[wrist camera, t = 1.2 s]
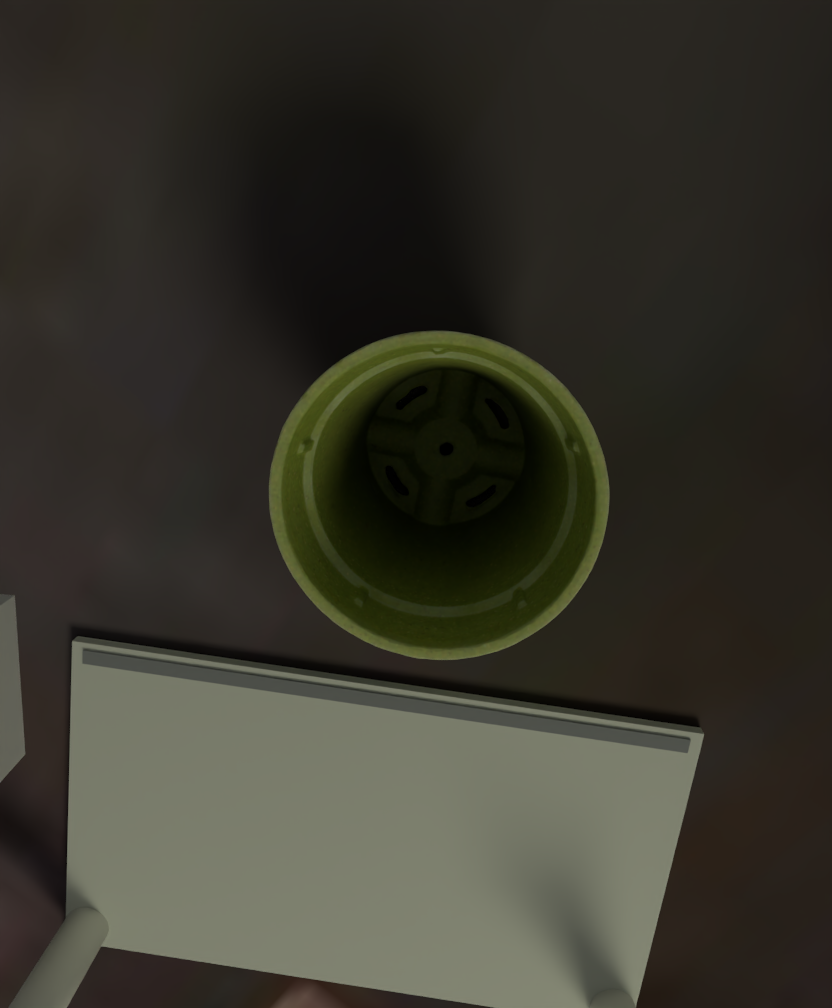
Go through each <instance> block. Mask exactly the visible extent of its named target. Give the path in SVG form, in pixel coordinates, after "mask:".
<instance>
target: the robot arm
mask: <svg viewBox="0 0 832 1008" xmlns="http://www.w3.org/2000/svg"><path fill="white" fill-rule="evenodd" d="M24 755H25V745H24V730H23V714H22V699H21V684H20V669H19V654H18V639H17V624H16V609H15V595H2V594H0V782H1V781H2V780H3V779H4V778H5V776H6V775H7V774H8V773H9V772H10V771H11V770H12V768H13V767H14V766H15V765H16V764H17V763H18V762H19V760H20V759H21V758H22V757H23V756H24Z"/></svg>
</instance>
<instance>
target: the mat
mask: <svg viewBox="0 0 832 1008" xmlns="http://www.w3.org/2000/svg"><path fill="white" fill-rule="evenodd" d="M703 737H704V733H703V731H702V729H701V728H699V727H692V726H686V725H679V724H672V723H665V722H659V721H652V720H645V719H638V718H631V717H625V716H618V715H611V714H604V713H597V712H591V711H584V710H577V709H570V708H563V707H557V706H550V705H543V704H536V703H529V702H523V701H516V700H509V699H502V698H496V697H489V696H482V695H475V694H468V693H462V692H455V691H448V690H441V689H434V688H428V687H421V686H414V685H407V684H400V683H394V682H387V681H380V680H373V679H366V678H360V677H353V676H346V675H339V674H333V673H326V672H319V671H312V670H305V669H299V668H292V667H285V666H278V665H271V664H265V663H258V662H251V661H244V660H237V659H231V658H224V657H217V656H210V655H203V654H197V653H190V652H183V651H176V650H170V649H163V648H156V647H149V646H142V645H136V644H129V643H122V642H115V641H108V640H102V639H95V638H88V637H81V636H77V637H76V638H75V639H74V640H73V641H72V671H71V714H70V758H69V801H68V844H67V887H66V919H65V920H64V922H63V924H62V925H61V927H60V928H59V930H58V931H57V933H56V934H55V936H54V938H53V939H52V941H51V942H50V944H49V945H48V947H47V948H46V950H45V952H44V953H43V955H42V956H41V958H40V959H39V961H38V962H37V964H36V966H35V967H34V969H33V970H32V972H31V973H30V975H29V976H28V978H27V980H26V981H25V983H24V984H23V986H22V987H21V989H20V991H19V992H18V994H17V995H16V997H15V998H14V1000H13V1001H12V1003H11V1005H10V1006H9V1008H67V1006H68V1004H69V1003H70V1001H71V999H72V997H73V995H74V994H75V992H76V990H77V988H78V987H79V985H80V983H81V981H82V979H83V978H84V976H85V974H86V972H87V970H88V969H89V967H90V965H91V963H92V962H93V960H94V958H95V956H96V954H97V953H98V951H99V949H100V947H101V946H104V947H110V948H117V949H123V950H130V951H136V952H142V953H149V954H155V955H162V956H168V957H174V958H181V959H187V960H194V961H200V962H207V963H213V964H219V965H226V966H232V967H239V968H245V969H251V970H258V971H264V972H271V973H277V974H283V975H290V976H296V977H303V978H309V979H316V980H322V981H328V982H335V983H341V984H348V985H354V986H360V987H367V988H373V989H380V990H386V991H392V992H399V993H405V994H412V995H418V996H425V997H431V998H437V999H444V1000H450V1001H457V1002H463V1003H469V1004H476V1005H482V1006H489V1007H495V1008H636V1004H637V1000H638V996H639V992H640V988H641V984H642V980H643V976H644V972H645V968H646V964H647V960H648V956H649V952H650V948H651V944H652V940H653V936H654V932H655V928H656V924H657V920H658V916H659V912H660V908H661V904H662V900H663V896H664V892H665V888H666V884H667V880H668V876H669V872H670V868H671V864H672V860H673V856H674V852H675V848H676V844H677V840H678V836H679V832H680V828H681V824H682V820H683V816H684V812H685V808H686V804H687V800H688V797H689V793H690V789H691V785H692V781H693V777H694V773H695V769H696V765H697V761H698V757H699V753H700V749H701V745H702V741H703Z"/></svg>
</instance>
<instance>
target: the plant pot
mask: <svg viewBox="0 0 832 1008" xmlns="http://www.w3.org/2000/svg"><path fill="white" fill-rule="evenodd" d="M419 386H424V387H426V388H427V392H426V393H425V394H423V395H420V396H419V397H417V398H415V399H413V400H412V401H411V402H410V403H408V404H407V405H406V406H405V407H404V408H403V409H402V410H398V409H396V408H397V406H396V404H397V402H398V401H399V400H401V399H402V398H403V397H405V396H406V395H407V394H408V393H409V391H410V390H411V389H414V388H416V387H419ZM486 398H487V399H491V400H493V401H494V402H495V403H496V404H498V405H499V406H500V407H501V408H502V410H503V411H504V412H505V415H506V416H507V418H508V423H509V426H508V428H506V429H505V430H504V429H502V428H501V426H500V424H499V422H498V420H497V418H496V416H495V414H494V413H493V412H492V410H491V409H490V408H489V405H488V404H486V402H485V399H486ZM444 443H450V444H451V445H452V446H453V451H452V453H451V454H450V455H446V456H443V455H442V454H441V453H440V446H441V445H443V444H444ZM386 466H392V467H393V469H394V471H395V473H396V475H397V477H398V478H399V480H400V481H401V483H402V484H403V485H404V486H405V487H407V489H408V490H409V495H407V496H405V495H402V494H400V493H398V492H397V491H396V490H395V489H394V487H393V485H392V484H391V482H390V481H389V480H388V477H387V475H386V471H385V470H386ZM492 485H495V486H496V488H495V491H496V492H495V493H494V494H493V495H492V496H491V497H490V498H488V499H487V500H486V501H484V502H483V503H482V504H480V505H478V506H475V507H468V506H467V505H466V502H467V501H469V500H470V499H472V498H474V497H476V496H478V495H480V494H482V493H483V492H484V491H486V490H487V489H488V488H489V487H491V486H492ZM269 507H270V517H271V521H272V527H273V531H274V534H275V538H276V541H277V544H278V547H279V550H280V552H281V554H282V556H283V559H284V561H285V563H286V565H287V567H288V569H289V571H290V572H291V574H292V576H293V577H294V578H295V580H296V581H297V583H298V584H299V586H300V587H301V589H302V590H303V591H304V592H305V594H306V595H307V596H308V597H309V598H310V599H311V601H312V602H313V603H314V604H315V605H316V606H317V607H318V608H319V609H320V610H321V611H322V612H323V613H324V614H325V615H326V616H328V617H329V618H330V619H331V620H332V621H333V622H334V623H336V624H337V625H339V626H340V627H342V628H343V629H345V630H346V631H348V632H349V633H351V634H353V635H355V636H356V637H358V638H360V639H362V640H364V641H365V642H367V643H370V644H372V645H374V646H376V647H379V648H382V649H385V650H388V651H391V652H395V653H399V654H402V655H405V656H410V657H413V658H420V659H434V660H456V659H463V658H470V657H476V656H481V655H485V654H489V653H493V652H496V651H499V650H501V649H504V648H507V647H509V646H512V645H514V644H516V643H518V642H519V641H521V640H523V639H525V638H527V637H528V636H530V635H532V634H533V633H535V632H536V631H538V630H539V629H541V628H542V627H544V626H545V625H546V624H548V623H549V622H550V621H551V620H553V619H554V618H555V617H556V616H557V615H558V614H559V613H560V612H561V611H562V610H563V609H564V608H565V607H566V606H567V605H568V604H569V602H570V601H571V600H572V599H573V598H574V596H575V595H576V594H577V592H578V591H579V590H580V588H581V587H582V585H583V584H584V582H585V580H586V579H587V577H588V575H589V573H590V572H591V570H592V568H593V566H594V563H595V561H596V559H597V557H598V554H599V550H600V548H601V545H602V542H603V538H604V533H605V529H606V524H607V518H608V511H609V481H608V474H607V468H606V463H605V459H604V455H603V452H602V449H601V446H600V443H599V441H598V438H597V436H596V434H595V431H594V428H593V426H592V424H591V423H590V421H589V419H588V417H587V415H586V414H585V412H584V411H583V409H582V407H581V406H580V405H579V403H578V402H577V400H576V399H575V398H574V397H573V395H572V394H571V393H570V392H569V390H568V389H567V388H566V387H565V386H564V385H563V384H562V383H561V382H560V381H559V380H558V379H557V378H556V377H555V376H554V375H552V374H551V373H550V372H549V371H548V370H546V369H545V368H544V367H542V366H541V365H540V364H538V363H537V362H536V361H534V360H532V359H531V358H529V357H528V356H526V355H524V354H522V353H521V352H519V351H517V350H515V349H513V348H511V347H509V346H507V345H504V344H502V343H499V342H497V341H494V340H492V339H488V338H484V337H480V336H476V335H472V334H466V333H460V332H454V331H420V332H410V333H405V334H400V335H395V336H392V337H388V338H385V339H382V340H379V341H376V342H374V343H371V344H369V345H366V346H364V347H362V348H360V349H358V350H356V351H355V352H353V353H351V354H349V355H347V356H346V357H344V358H343V359H341V360H340V361H339V362H337V363H336V364H334V365H333V366H332V367H330V368H329V369H328V370H327V371H325V372H324V373H323V374H322V375H321V376H320V377H319V378H318V379H317V380H316V381H315V382H314V383H313V384H312V385H311V386H310V387H309V388H308V389H307V391H306V392H305V393H304V394H303V395H302V397H301V398H300V399H299V401H298V402H297V404H296V405H295V407H294V408H293V410H292V411H291V413H290V414H289V416H288V418H287V420H286V422H285V424H284V426H283V428H282V431H281V433H280V436H279V439H278V442H277V445H276V448H275V452H274V456H273V460H272V465H271V471H270V479H269Z"/></svg>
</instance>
